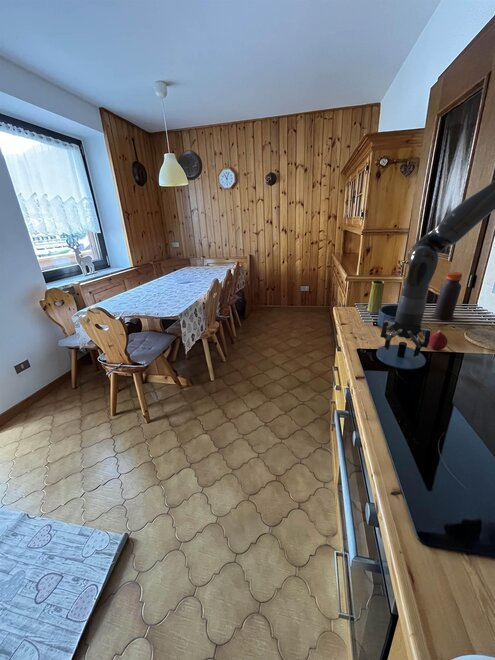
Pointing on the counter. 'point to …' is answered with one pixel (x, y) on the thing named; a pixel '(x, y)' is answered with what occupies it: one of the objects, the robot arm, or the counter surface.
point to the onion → (438, 341)
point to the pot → (387, 315)
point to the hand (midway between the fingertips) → (400, 352)
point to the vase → (376, 296)
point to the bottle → (448, 297)
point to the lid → (400, 357)
